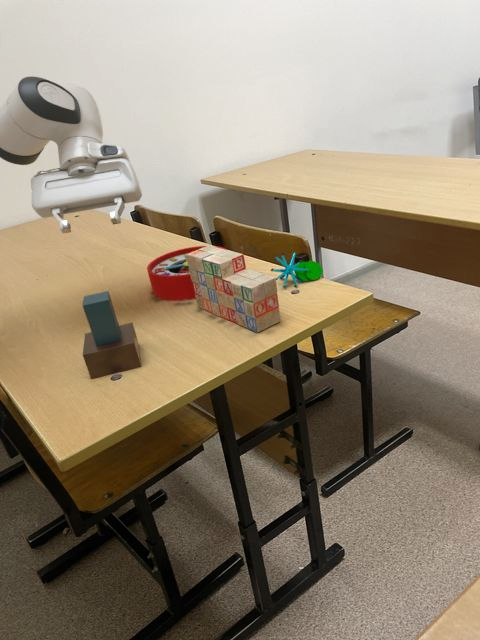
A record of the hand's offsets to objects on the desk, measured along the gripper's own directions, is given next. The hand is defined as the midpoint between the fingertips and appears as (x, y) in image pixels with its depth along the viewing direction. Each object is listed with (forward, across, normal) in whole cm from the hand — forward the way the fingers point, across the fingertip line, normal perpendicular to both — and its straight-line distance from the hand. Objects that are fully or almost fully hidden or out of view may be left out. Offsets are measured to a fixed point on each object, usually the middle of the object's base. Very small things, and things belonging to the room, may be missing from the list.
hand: (91, 227), depth 99 cm
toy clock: (+1, +15, +31) cm, 34 cm away
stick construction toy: (+9, +38, +23) cm, 46 cm away
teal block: (+21, 0, +3) cm, 21 cm away
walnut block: (+24, 0, +7) cm, 25 cm away
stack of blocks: (+17, +24, +15) cm, 33 cm away
